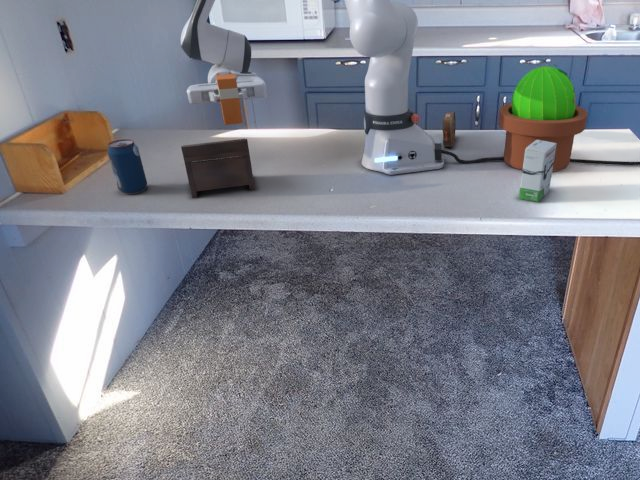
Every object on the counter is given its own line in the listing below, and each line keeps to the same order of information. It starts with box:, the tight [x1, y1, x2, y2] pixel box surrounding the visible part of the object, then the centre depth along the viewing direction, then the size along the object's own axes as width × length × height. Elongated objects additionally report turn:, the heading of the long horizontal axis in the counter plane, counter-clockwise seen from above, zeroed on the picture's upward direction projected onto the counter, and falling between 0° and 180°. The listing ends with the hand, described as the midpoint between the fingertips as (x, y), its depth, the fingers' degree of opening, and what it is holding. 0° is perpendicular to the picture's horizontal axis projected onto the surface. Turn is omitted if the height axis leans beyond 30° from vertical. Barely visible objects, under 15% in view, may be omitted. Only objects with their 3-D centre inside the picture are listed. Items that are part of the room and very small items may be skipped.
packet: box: [216, 74, 244, 126], centre depth 139 cm, size 4×6×11 cm
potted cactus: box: [497, 63, 589, 172], centre depth 141 cm, size 22×22×25 cm
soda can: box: [106, 138, 148, 195], centre depth 133 cm, size 7×7×12 cm
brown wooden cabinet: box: [180, 138, 256, 199], centre depth 134 cm, size 15×10×12 cm, turn 107°
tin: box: [442, 110, 456, 148], centre depth 161 cm, size 15×3×8 cm, turn 168°
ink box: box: [518, 140, 557, 203], centre depth 126 cm, size 9×5×12 cm, turn 148°
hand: (229, 98), depth 138 cm, fingers closed on packet, 4 cm apart
